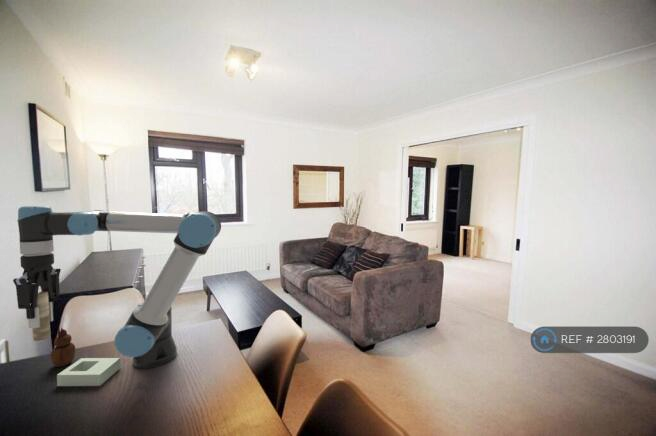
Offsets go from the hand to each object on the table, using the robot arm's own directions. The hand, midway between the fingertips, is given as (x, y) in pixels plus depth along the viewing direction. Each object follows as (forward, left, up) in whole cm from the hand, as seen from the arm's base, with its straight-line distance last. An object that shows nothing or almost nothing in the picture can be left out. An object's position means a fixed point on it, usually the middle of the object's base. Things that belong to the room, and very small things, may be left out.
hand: (41, 324), depth 92 cm
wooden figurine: (+6, -14, -23) cm, 27 cm away
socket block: (-10, -6, -22) cm, 25 cm away
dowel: (0, 0, -5) cm, 5 cm away
